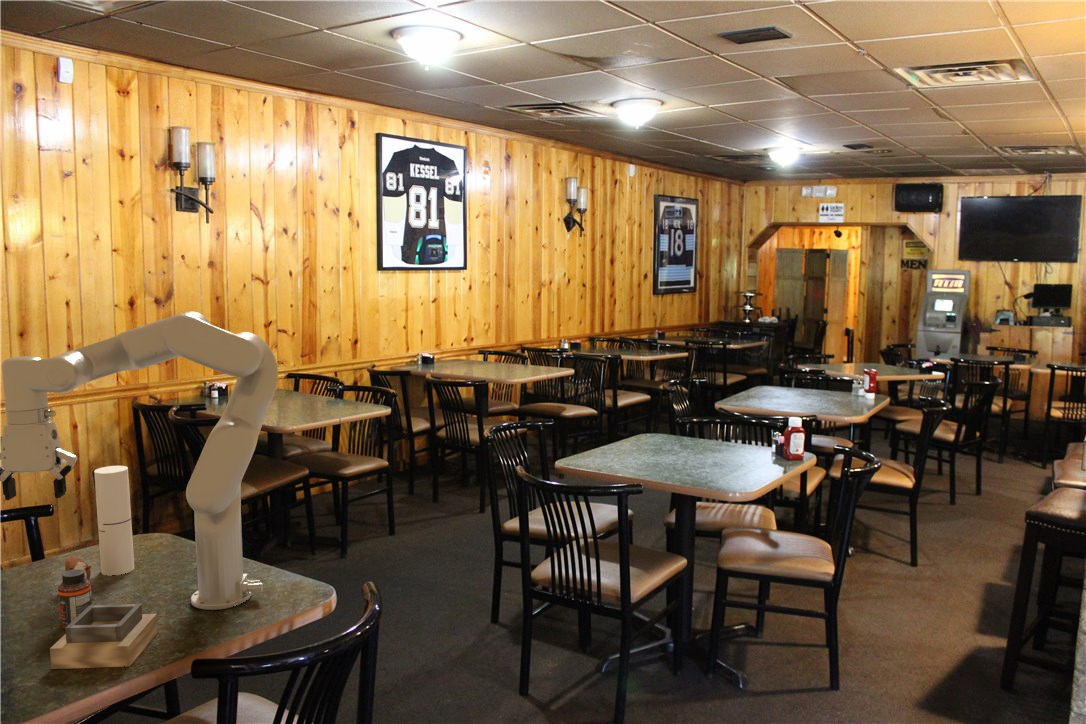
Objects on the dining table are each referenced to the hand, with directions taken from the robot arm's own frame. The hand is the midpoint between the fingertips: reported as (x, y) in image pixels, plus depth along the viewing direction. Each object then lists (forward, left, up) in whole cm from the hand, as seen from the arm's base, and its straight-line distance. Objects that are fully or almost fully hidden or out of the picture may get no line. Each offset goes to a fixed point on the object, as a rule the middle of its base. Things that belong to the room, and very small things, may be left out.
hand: (35, 497), depth 175 cm
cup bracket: (-20, +17, -26) cm, 37 cm away
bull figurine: (-2, -12, -26) cm, 29 cm away
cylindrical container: (-5, -25, -26) cm, 36 cm away
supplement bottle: (-9, +5, -26) cm, 28 cm away
